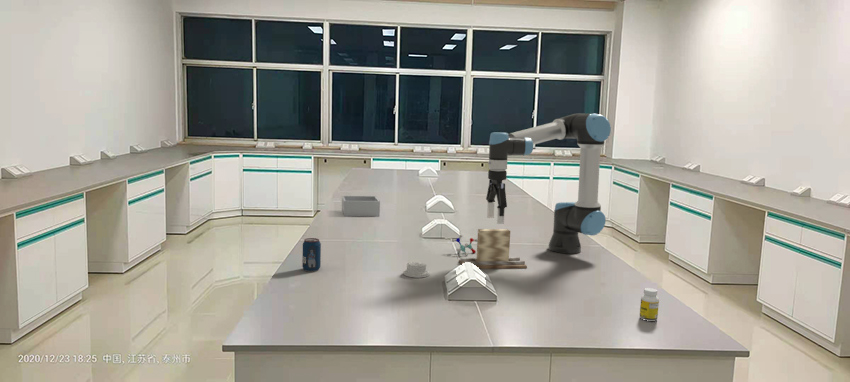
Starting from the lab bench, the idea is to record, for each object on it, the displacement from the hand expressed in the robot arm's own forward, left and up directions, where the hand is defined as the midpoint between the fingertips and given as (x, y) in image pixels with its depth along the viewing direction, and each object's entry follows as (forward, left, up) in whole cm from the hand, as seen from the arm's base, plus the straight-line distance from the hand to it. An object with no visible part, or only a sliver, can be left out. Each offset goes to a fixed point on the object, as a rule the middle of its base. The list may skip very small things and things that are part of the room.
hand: (495, 220), depth 256 cm
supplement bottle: (-30, +70, -19) cm, 78 cm away
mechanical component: (+35, +13, -19) cm, 42 cm away
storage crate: (+44, -126, -19) cm, 135 cm away
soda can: (+75, +4, -19) cm, 78 cm away
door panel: (0, 0, -18) cm, 18 cm away
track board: (0, 0, -19) cm, 19 cm away
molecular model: (+7, -21, -19) cm, 29 cm away
